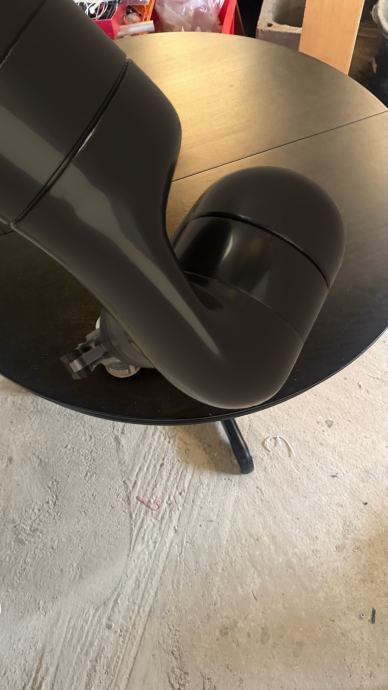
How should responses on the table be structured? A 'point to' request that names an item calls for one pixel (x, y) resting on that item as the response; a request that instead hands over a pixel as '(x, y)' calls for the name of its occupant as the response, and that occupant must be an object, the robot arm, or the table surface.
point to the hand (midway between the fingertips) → (119, 332)
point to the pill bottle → (119, 366)
